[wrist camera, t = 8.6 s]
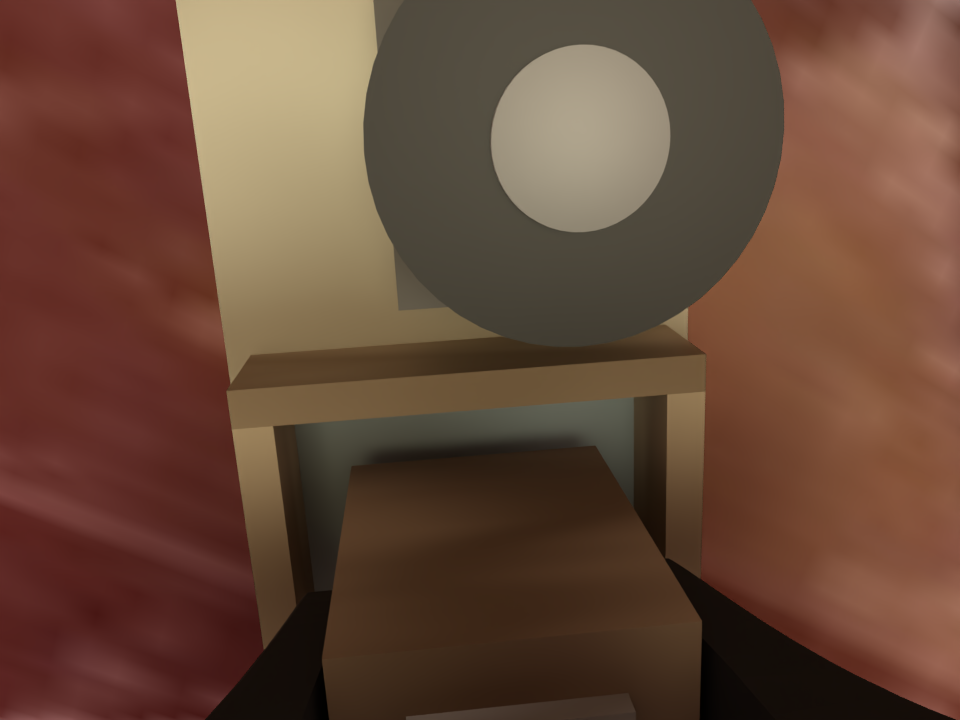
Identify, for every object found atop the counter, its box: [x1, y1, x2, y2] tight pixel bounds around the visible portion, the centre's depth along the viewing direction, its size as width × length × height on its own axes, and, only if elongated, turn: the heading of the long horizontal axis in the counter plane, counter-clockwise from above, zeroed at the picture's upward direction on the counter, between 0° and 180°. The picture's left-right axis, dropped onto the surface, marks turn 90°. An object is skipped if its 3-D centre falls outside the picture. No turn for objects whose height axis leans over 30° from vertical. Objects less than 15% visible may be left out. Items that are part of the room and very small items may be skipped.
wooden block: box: [322, 445, 702, 720], centre depth 11 cm, size 4×4×5 cm
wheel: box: [363, 0, 784, 347], centre depth 11 cm, size 5×5×4 cm
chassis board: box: [176, 0, 706, 650], centre depth 14 cm, size 13×8×4 cm, turn 3°
